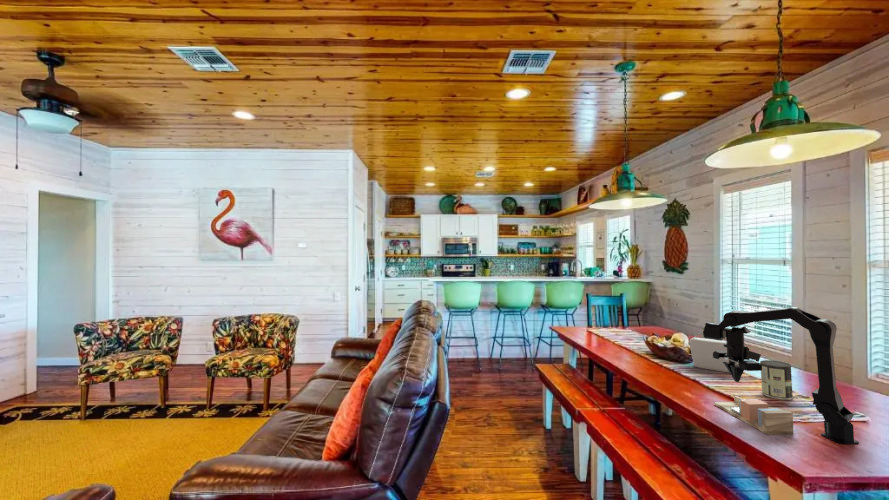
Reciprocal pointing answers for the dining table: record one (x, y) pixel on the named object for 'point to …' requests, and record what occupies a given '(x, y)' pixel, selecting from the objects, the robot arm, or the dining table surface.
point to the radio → (707, 353)
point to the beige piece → (764, 419)
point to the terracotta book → (752, 408)
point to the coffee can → (776, 379)
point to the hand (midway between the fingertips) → (736, 381)
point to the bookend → (738, 409)
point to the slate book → (761, 414)
